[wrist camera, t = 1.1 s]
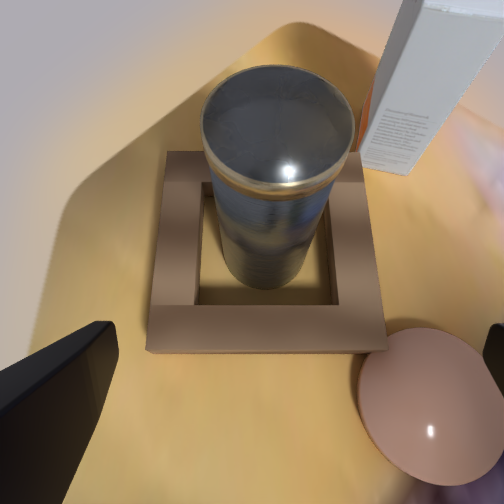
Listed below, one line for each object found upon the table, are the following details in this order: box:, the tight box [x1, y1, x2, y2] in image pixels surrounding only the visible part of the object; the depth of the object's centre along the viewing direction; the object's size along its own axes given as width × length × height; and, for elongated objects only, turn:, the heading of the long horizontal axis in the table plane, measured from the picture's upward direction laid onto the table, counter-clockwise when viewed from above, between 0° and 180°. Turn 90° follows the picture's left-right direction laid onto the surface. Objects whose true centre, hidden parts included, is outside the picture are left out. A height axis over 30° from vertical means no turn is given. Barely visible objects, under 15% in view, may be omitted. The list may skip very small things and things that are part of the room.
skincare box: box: [355, 0, 504, 176], centre depth 22 cm, size 6×4×12 cm
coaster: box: [357, 328, 504, 486], centre depth 20 cm, size 8×8×1 cm
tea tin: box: [200, 65, 355, 289], centre depth 19 cm, size 6×6×12 cm
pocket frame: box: [145, 151, 389, 354], centre depth 23 cm, size 13×13×2 cm
